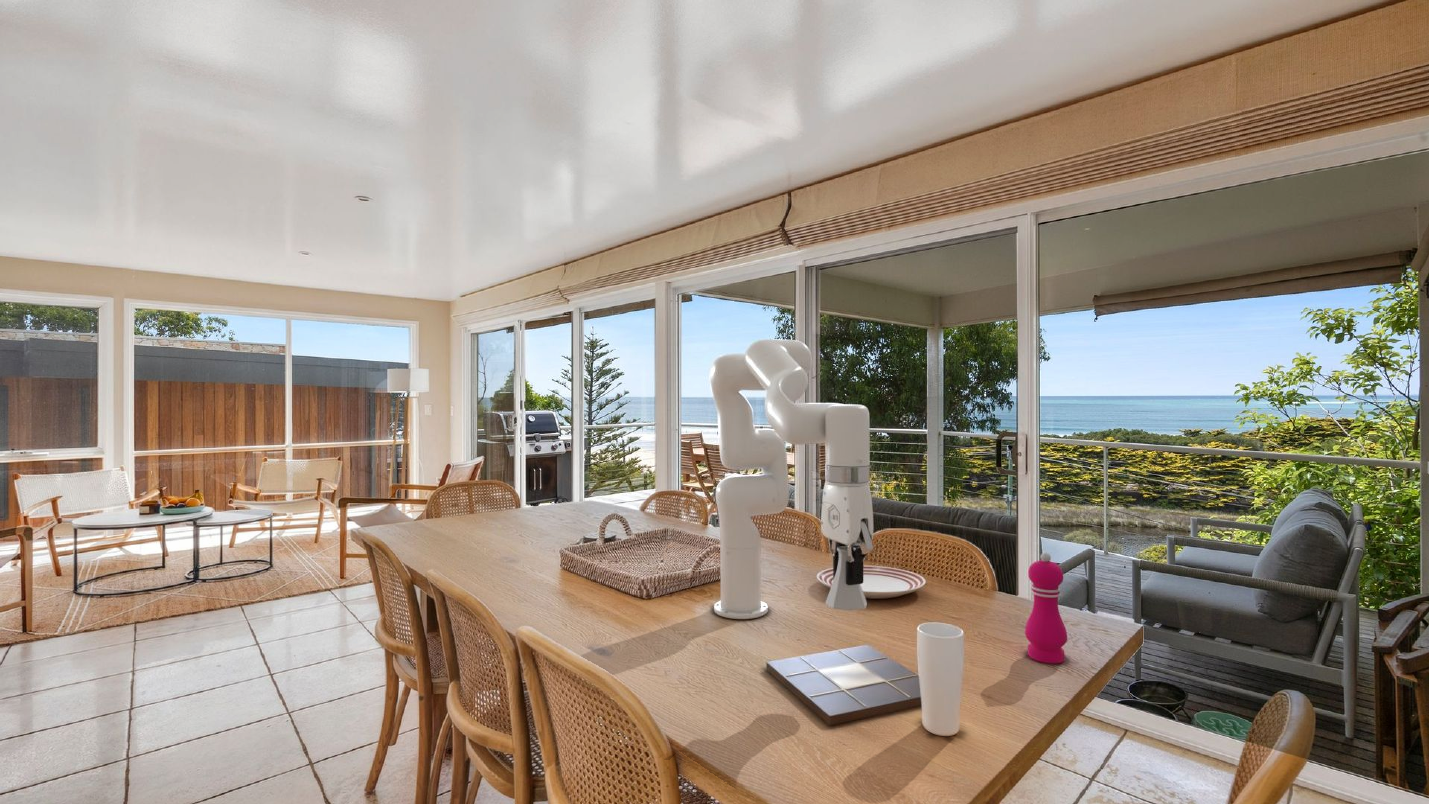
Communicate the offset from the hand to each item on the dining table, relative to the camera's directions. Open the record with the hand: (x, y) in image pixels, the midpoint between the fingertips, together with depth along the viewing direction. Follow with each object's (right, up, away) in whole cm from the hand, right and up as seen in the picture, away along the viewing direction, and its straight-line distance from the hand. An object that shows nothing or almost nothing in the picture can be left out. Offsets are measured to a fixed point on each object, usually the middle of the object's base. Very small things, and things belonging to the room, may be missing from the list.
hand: (848, 580), depth 114 cm
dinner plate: (+17, -18, +56) cm, 61 cm away
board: (0, -18, 0) cm, 18 cm away
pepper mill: (+40, -18, +11) cm, 45 cm away
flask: (0, -5, 0) cm, 5 cm away
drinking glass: (+11, -18, -15) cm, 26 cm away
